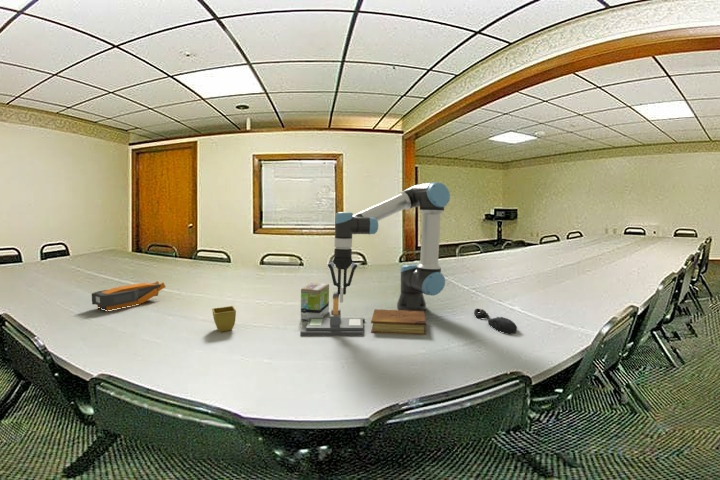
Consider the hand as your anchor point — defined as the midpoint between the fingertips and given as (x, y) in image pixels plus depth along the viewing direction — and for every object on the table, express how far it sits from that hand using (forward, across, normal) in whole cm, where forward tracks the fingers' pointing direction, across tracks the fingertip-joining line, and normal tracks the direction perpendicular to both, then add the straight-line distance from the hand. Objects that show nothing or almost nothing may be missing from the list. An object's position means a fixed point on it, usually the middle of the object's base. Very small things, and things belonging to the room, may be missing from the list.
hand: (341, 301), depth 164 cm
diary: (+12, -26, -2) cm, 28 cm away
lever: (+9, +2, 0) cm, 9 cm away
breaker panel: (+12, +2, 0) cm, 12 cm away
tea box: (+13, +13, -19) cm, 27 cm away
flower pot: (+14, +50, +2) cm, 52 cm away
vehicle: (+16, +115, -40) cm, 123 cm away
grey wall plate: (+12, +2, 0) cm, 12 cm away
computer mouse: (+10, -70, -8) cm, 71 cm away
